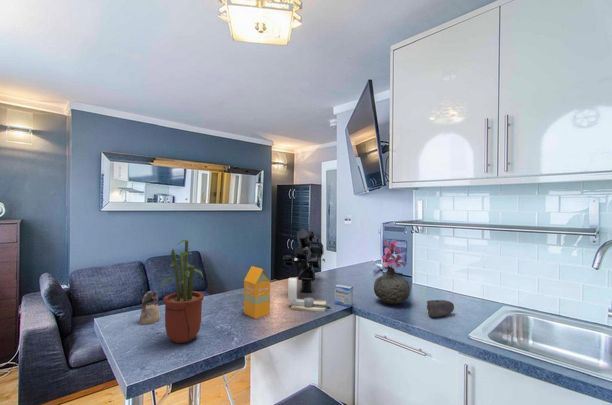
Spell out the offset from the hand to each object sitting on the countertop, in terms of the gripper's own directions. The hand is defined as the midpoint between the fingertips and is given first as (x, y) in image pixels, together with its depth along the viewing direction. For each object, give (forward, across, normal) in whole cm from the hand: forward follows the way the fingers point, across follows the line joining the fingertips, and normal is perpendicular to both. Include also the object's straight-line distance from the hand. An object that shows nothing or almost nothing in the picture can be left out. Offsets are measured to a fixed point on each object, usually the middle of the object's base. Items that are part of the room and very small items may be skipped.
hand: (297, 276), depth 144 cm
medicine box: (+7, +23, +10) cm, 26 cm away
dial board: (+13, +9, +5) cm, 16 cm away
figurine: (+38, -49, -21) cm, 66 cm away
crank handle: (+14, +7, +2) cm, 16 cm away
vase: (+1, +44, +16) cm, 47 cm away
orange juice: (+24, -12, -6) cm, 28 cm away
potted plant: (+44, -29, -27) cm, 59 cm away
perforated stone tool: (+8, +65, +10) cm, 66 cm away
